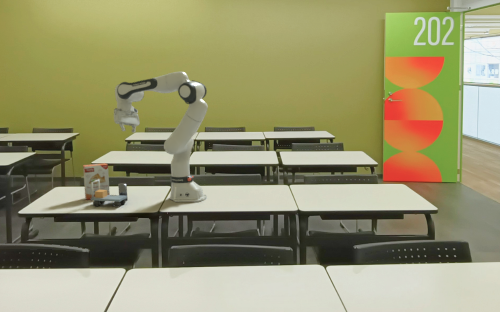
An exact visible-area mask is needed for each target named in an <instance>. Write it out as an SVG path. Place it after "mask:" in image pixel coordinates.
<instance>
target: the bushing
mask: <svg viewBox="0 0 500 312" xmlns="http://www.w3.org/2000/svg"><path fill="white" fill-rule="evenodd" d="M117 185H118V195H122V196H127V198H126V199H125V200H126V202H127V201H128V187H127V185H128V184H127V183H123V182H121V183H118V184H117Z"/></svg>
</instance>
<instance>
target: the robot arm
mask: <svg viewBox="0 0 500 312" xmlns="http://www.w3.org/2000/svg"><path fill="white" fill-rule="evenodd" d="M145 92H155V93H160V94H171V93H174V92H177V94H178V96H179V97H180V99H181V100H183V101H184V102H185V104H187V105H188V108H187V109H186V111H185V112H184V114H183V116H182V118H181V120H180V121H179V123H178V125H177V126H176V127H175V129H174V130H173V132H171V134H170V135H169V137H168V138H167V139H165V141H164V143H163V149H164V151H165V152H166V153H167V154H169V155H173V156H172V160H171V162H170V173H171V175H170V185H171V186H170V187H171V188H170V190H171V191H170V195H169V199H170V200H171V201H173V202H175V203H178V202H179V203H188V202H189V203H191V202H193V203H194V202H195V203H198V202H199V203H200V202H202V201H204V200H206V199H207V198H208V196H207V194H204V190H203V187H202V186H201V185H199V184H198V183H196V182H195V181H194V175H191V174H190V172H191V171H190V170H191V169H190V163H191V162H190V159H191V154H192V148H193V147H194V144H195V140H194V138H193V137H194V135H196V133H197V132H198V130H199V128H200V126H201V125H202V122H203V121H204V119H205V117H206V115H207V113H208V108H209V106H208V103H207V102H206V101H205V100H204V98H205V97H206V96H207V93H208V92H207V86H206V85H205V84H203V83H202V82H199V81H196V80H190V79H189V76H188V74H187V72H184V71H174V72H169V73H167V74H163V75H159V76H156V77H152V78H147V79H142V80H138V81H134V82H127V81H122V82H120V83H119V84H117V85H116V86H115V88H114V95H115V100H116V107H115V108H114V109H113V121H114V123H115V124H116V125H118V124H119V127H120V128H121V131H122V132H126V127H125V126H129V127H130V126H131V128H132V129H131V133H132V134H133V133H136V128H137V127H138V126H139V125H140V117H139V114H138V113H139V110H138V109H137V108H135V106H133V105H132V103H136V102H141V101H142V100H143V99H144V97H145Z"/></svg>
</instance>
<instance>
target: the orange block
mask: <svg viewBox="0 0 500 312" xmlns="http://www.w3.org/2000/svg"><path fill="white" fill-rule="evenodd" d="M106 196H107V190H97V191H95V198H104V197H106Z"/></svg>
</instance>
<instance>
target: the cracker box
mask: <svg viewBox="0 0 500 312" xmlns="http://www.w3.org/2000/svg"><path fill="white" fill-rule="evenodd" d="M82 166H83V168H82V169H83V184H84V195H85V196H84V198H85V200H87V201H88V200H91V198H92V191H91V182H93V181H95V180H98V179H99V180H100V190H107V195H111V194H110V181H109V178H110V177H109V165H108V163H105V162H104V163H92V164H83V165H82ZM97 190H98V181H97V182H95V183H93V193H94V197H95V191H97Z"/></svg>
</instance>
